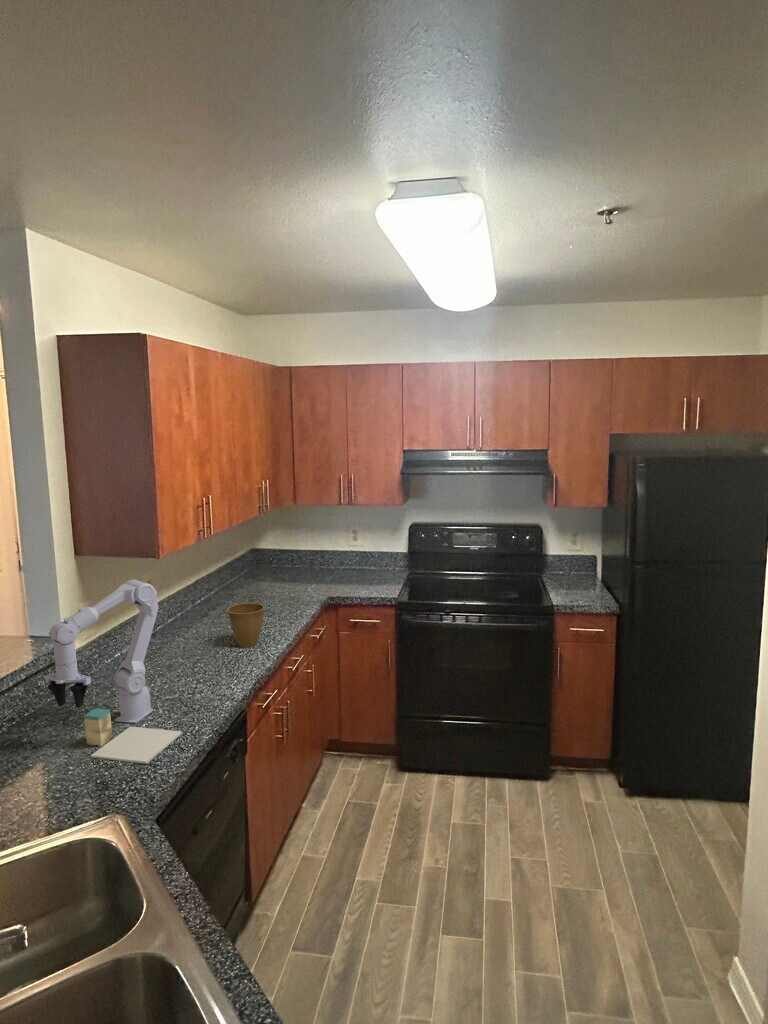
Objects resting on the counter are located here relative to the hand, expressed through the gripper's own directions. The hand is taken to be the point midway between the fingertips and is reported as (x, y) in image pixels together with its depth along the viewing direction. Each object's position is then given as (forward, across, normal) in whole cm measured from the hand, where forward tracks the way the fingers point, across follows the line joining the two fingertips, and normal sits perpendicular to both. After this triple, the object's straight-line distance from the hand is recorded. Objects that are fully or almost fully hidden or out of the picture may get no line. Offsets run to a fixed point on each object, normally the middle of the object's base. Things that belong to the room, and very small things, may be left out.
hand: (70, 705), depth 197 cm
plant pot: (+11, +15, +86) cm, 88 cm away
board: (+10, +22, 0) cm, 24 cm away
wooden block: (+10, +9, 0) cm, 14 cm away
